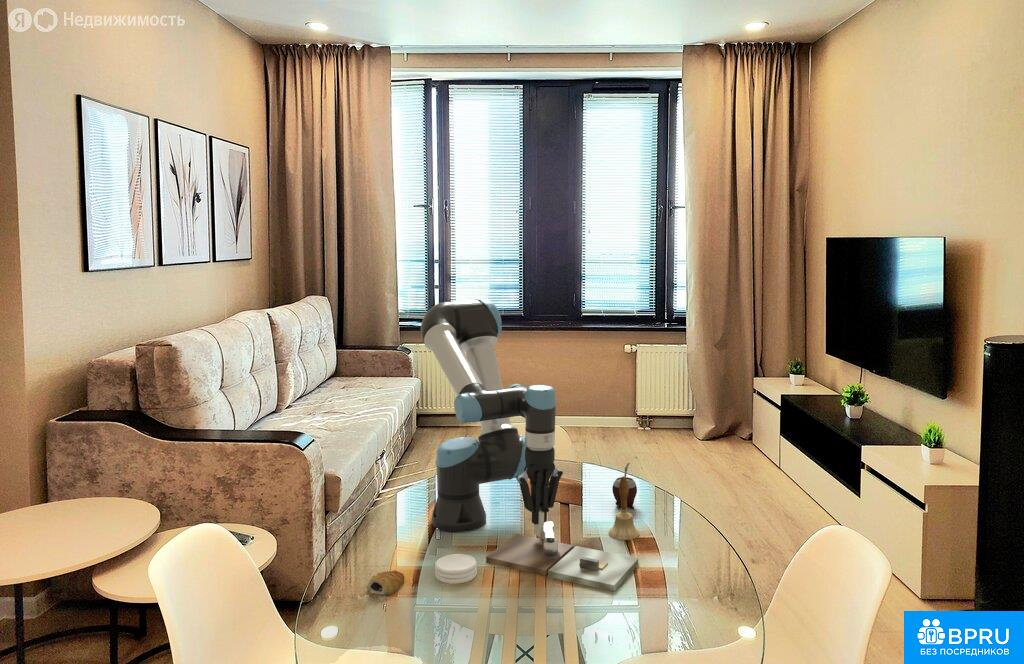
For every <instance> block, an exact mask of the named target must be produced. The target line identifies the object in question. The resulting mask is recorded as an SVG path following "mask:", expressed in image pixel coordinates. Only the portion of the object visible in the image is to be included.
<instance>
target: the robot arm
mask: <svg viewBox="0 0 1024 664" xmlns="http://www.w3.org/2000/svg"><path fill="white" fill-rule="evenodd" d="M502 330H503V327H502V318H501V313H500V312H499V308H498V307H497V305H496V304H495V303H494V302H493V301H491V300H489V299H472V300H471V299H469V300H459V301H456V300H455V301H443V302H439V303H437V304H435V305H433V306H432V307H430V309H428V311H427V312H426V313H425V315H424V317H423V318H422V321H421V324H420V336H421V339H422V342H423V344H424V345H425V348H427V349H428V351H431V352H432V353H433V354H434V356H435V359H436V360H437V362H438V364H439V365H440V367H441V369H442V372H443V373H444V375H445V377H446V379H447V380H448V382H449V384H450V386H451V388H452V389H453V390H452V391H453V392H454V394H455V395H456V396H455V399H454V402H453V405H454V406H453V407H454V408H453V409H454V412H455V417H456V418H457V420H458V421H459V422H461V423H464V424H467V423H478V422H479V423H480V428H481V430H480V433H479V434H478V436H477V438H475V437H472V436H465V437H463V436H459V437H455V438H450V439H447V440H445V441H444V442H442V443H441V444H439V445H438V447H437V448H436V459H435V465H436V486H437V488H436V489H437V498H436V502H435V504H434V508H433V511H432V515H431V524H432V523H433V525H434V526H435V527H436V528H438V529H439V531H440V532H441V531H442V532H446V533H467V532H472V531H475V530H479V529H481V528H483V527H484V526H485V525H486V523H487V513H486V510H485V507H484V504H483V501H482V498H481V496H480V495H481V494H480V485H482V484H488V483H492V482H493V483H495V482H498V481H505V480H509V481H510V480H512V479H516V481H517V482H518V483H519V488H520V491H521V496H522V500H523V505H524V509H526V510H527V511H529V512H530V513H531V523H532V524H533V526H534V527H533V531H534V532H533V533H534V535H535V536H537V538H544V523H545V522H547V520H548V519H547V514H548V513H549V512H550V509H552V508H553V507H555V506H554V505H555V502H556V498H557V497H556V496H557V494H558V493H557V492H558V488H559V483H560V480H561V478H562V476H563V474H564V472H563V471H562V470H560V469H559V468H556V464H555V460H556V459H555V457H556V453H555V452H556V448H555V447H554V446H555V445H556V442H555V441H556V437H555V435H556V411H557V410H556V405H557V399H556V391H555V388H554V387H552V386H551V385H545V384H534V385H533V384H532V385H529V386H527V385H524V384H520V383H514V384H511V385H509V386H508V387H507V388H504V385H503V382H502V376H501V371H500V367H499V363H498V357H497V354H496V349H495V346H496V345H497V343H498V340H499V339H498V337H500V335H501V333H502ZM513 417H514V418H515V417H522V418H524V419H525V427H524V429H525V433H524V434H525V435H521V434H519V429H518V428H517V426H514V425H513V424H512V423H511V418H513ZM528 479H529V480H528ZM528 481H529V483H528ZM529 484H530V487H529ZM433 525H432V526H433ZM434 526H433V527H434ZM435 527H434V528H435ZM436 528H435V529H436ZM438 529H437V530H438Z"/></svg>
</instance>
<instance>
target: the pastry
mask: <svg viewBox="0 0 1024 664" xmlns="http://www.w3.org/2000/svg"><path fill="white" fill-rule="evenodd" d="M404 582H405V574H404V573H402V572H400V571H399V570H395V569H394V570H389V571H383V572H378V573H377V574H375V575H372V576H371V578H370V580H369V582H368V583H367V585H366V590H367V591H368V592H369V591H370V592H373V593H372V594H374V593H375V594H374V595H380V596H389V595H392V594H393V593H395V592H396V591H398V590H399V589H400V588H401V587H402V586H403V584H404ZM401 585H402V586H401ZM400 586H401V587H400ZM370 592H369V593H370Z"/></svg>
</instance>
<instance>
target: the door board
mask: <svg viewBox="0 0 1024 664" xmlns="http://www.w3.org/2000/svg"><path fill="white" fill-rule="evenodd" d="M543 541H544V538H541V537H534V536H529V535H526V534H525V535H524V534H519V533H515V535H513V536H512V537H511V538H509V539H508V540H506V541H505V542H504V543H502V544H501V545H500V546H498V547H497V548H496V549H494V550H493V551H492V552H491V553H489V554H488V555H486V556H485V563H487V564H490V565H496V566H499V567H503V566H504V568H509V569H513V570H518V571H522V572H525V573H526V572H527V573H531V574H534V575H535V574H536V575H539V576H543V577H546V576H547V575H548V577H549V578H552V579H556V580H557V579H558V580H561V581H567V582H570V583H574V584H579V585H584V586H587V587H592V588H597V589H601V590H605V591H609V592H615V591H616V590H617V589H618V587H619V586H620V585H621V584H623V582H624V581H625V580H626V579H627V578H628V577H629V576H630V575H631V574H632V572H633V571H634V570H635V569H636V568H637V567H638V565H639V558H638V557H633V556H628V555H623V554H620V553H619V554H618V553H614V552H608V551H604V550H599V549H595V548H594V549H593V548H589V547H583V546H578V545H575V546H574V545H573V544H568V543H565V542H559V541H558V554H557V555H554V556H548V555H545V554H544V553H543Z"/></svg>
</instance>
